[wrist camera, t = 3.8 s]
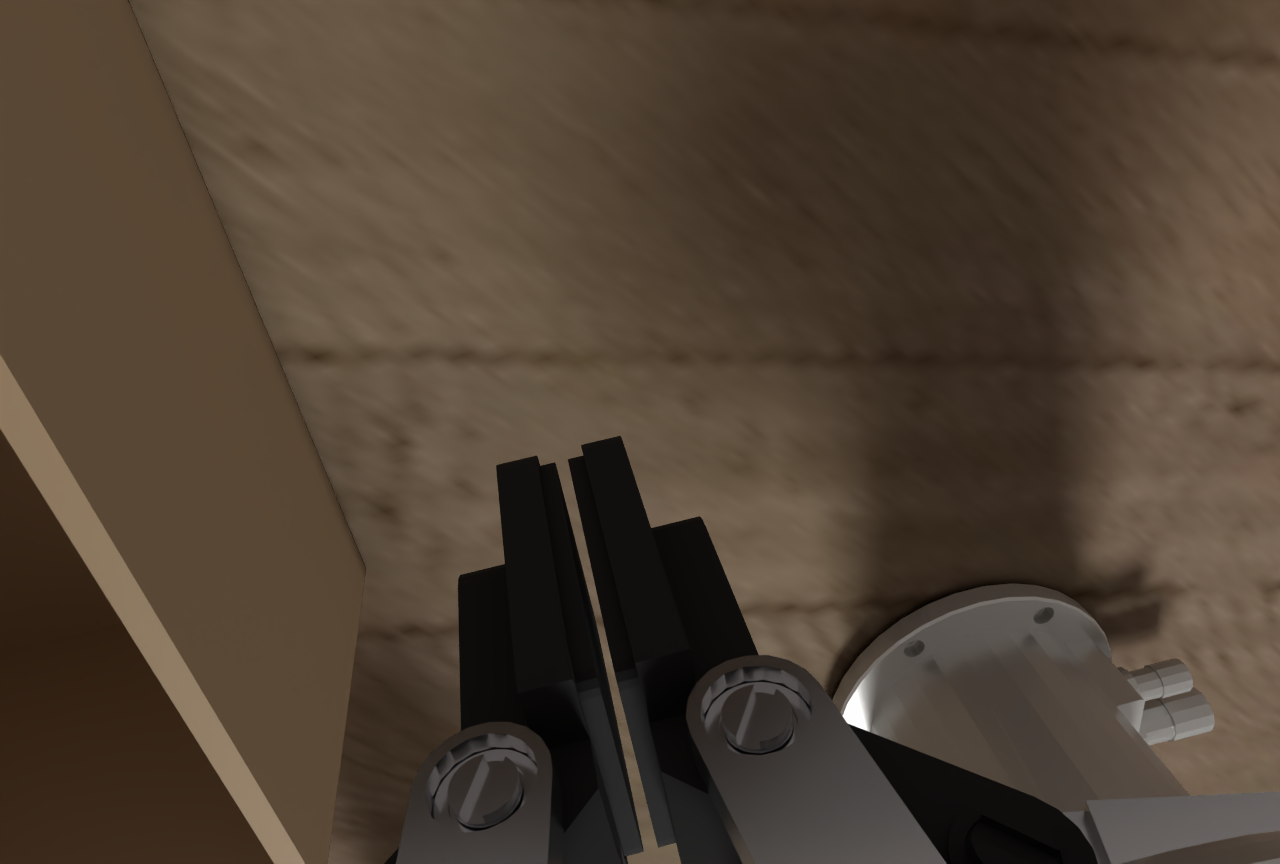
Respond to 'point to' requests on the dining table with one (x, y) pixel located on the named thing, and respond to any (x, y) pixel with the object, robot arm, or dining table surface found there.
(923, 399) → the dining table surface
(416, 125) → the dining table surface
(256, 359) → the carton
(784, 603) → the dining table surface
